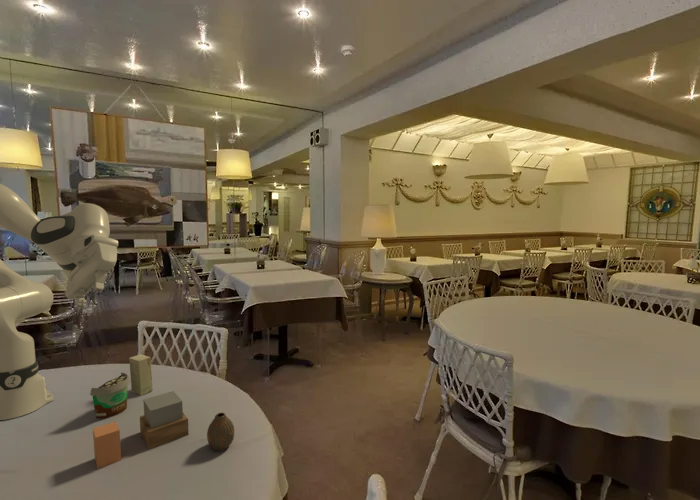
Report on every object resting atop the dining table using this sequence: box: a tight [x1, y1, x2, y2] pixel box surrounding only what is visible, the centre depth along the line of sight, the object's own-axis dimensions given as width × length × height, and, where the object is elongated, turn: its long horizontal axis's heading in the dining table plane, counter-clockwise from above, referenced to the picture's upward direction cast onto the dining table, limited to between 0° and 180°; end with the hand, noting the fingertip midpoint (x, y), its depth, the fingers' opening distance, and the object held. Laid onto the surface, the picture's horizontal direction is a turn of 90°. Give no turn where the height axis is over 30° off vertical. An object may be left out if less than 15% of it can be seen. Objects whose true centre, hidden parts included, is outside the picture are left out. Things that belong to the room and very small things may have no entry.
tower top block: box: [143, 390, 184, 429], centre depth 106 cm, size 8×8×5 cm
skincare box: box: [128, 353, 153, 396], centre depth 131 cm, size 6×4×12 cm
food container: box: [89, 372, 131, 419], centre depth 118 cm, size 12×6×10 cm, turn 168°
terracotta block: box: [92, 421, 122, 469], centre depth 95 cm, size 5×5×8 cm
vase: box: [206, 412, 235, 451], centre depth 101 cm, size 7×7×9 cm
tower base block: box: [139, 412, 189, 450], centre depth 107 cm, size 10×10×5 cm
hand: (89, 298), depth 98 cm, fingers open, 8 cm apart
